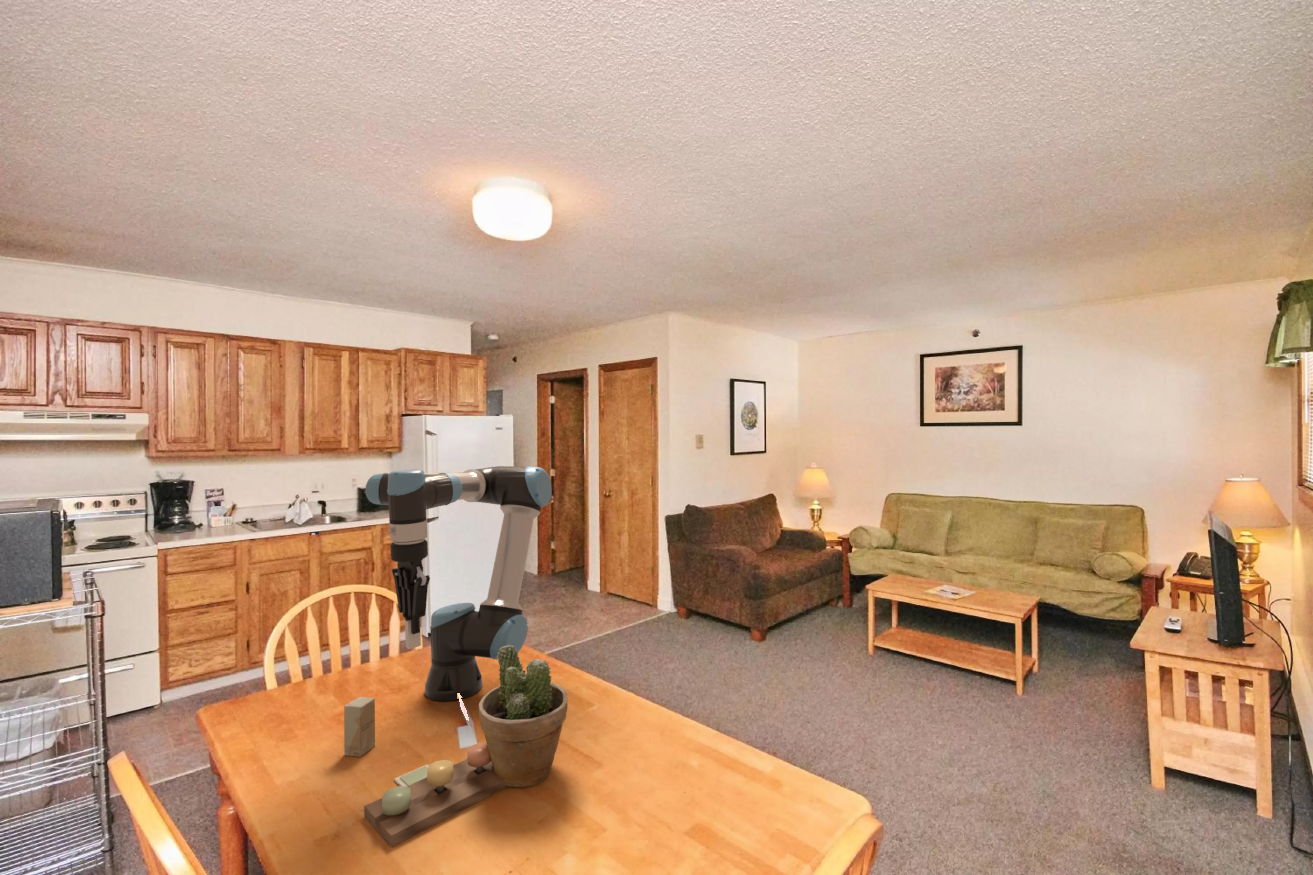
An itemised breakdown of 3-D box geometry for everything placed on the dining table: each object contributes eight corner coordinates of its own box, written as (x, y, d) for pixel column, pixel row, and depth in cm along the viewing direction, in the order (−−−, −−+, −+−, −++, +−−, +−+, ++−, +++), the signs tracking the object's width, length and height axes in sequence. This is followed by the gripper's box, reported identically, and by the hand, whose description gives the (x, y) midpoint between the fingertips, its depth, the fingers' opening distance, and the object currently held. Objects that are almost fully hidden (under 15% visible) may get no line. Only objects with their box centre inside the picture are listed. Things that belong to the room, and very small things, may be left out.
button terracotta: (484, 761, 123) (483, 740, 123) (496, 770, 120) (496, 748, 120) (463, 771, 120) (462, 749, 120) (475, 780, 117) (474, 758, 117)
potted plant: (582, 756, 129) (583, 644, 128) (539, 809, 111) (541, 679, 110) (510, 741, 134) (511, 634, 134) (458, 788, 117) (459, 665, 116)
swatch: (427, 766, 125) (427, 762, 125) (442, 779, 120) (442, 775, 120) (394, 780, 120) (394, 777, 120) (409, 795, 115) (409, 791, 115)
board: (480, 761, 127) (479, 752, 127) (510, 784, 119) (510, 774, 118) (364, 816, 109) (364, 805, 109) (391, 846, 101) (391, 835, 101)
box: (360, 757, 129) (359, 707, 129) (343, 755, 130) (342, 706, 130) (376, 744, 134) (375, 697, 134) (360, 742, 135) (359, 695, 135)
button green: (404, 806, 111) (403, 782, 111) (415, 817, 108) (415, 793, 108) (378, 819, 107) (377, 794, 107) (389, 831, 104) (388, 805, 104)
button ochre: (446, 779, 117) (445, 756, 117) (458, 789, 114) (457, 766, 114) (423, 790, 114) (422, 767, 114) (434, 801, 110) (434, 777, 110)
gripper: (378, 539, 129) (383, 644, 130) (405, 548, 120) (410, 660, 121) (411, 533, 134) (415, 634, 136) (440, 541, 126) (444, 648, 127)
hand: (413, 646), depth 128 cm, fingers closed
